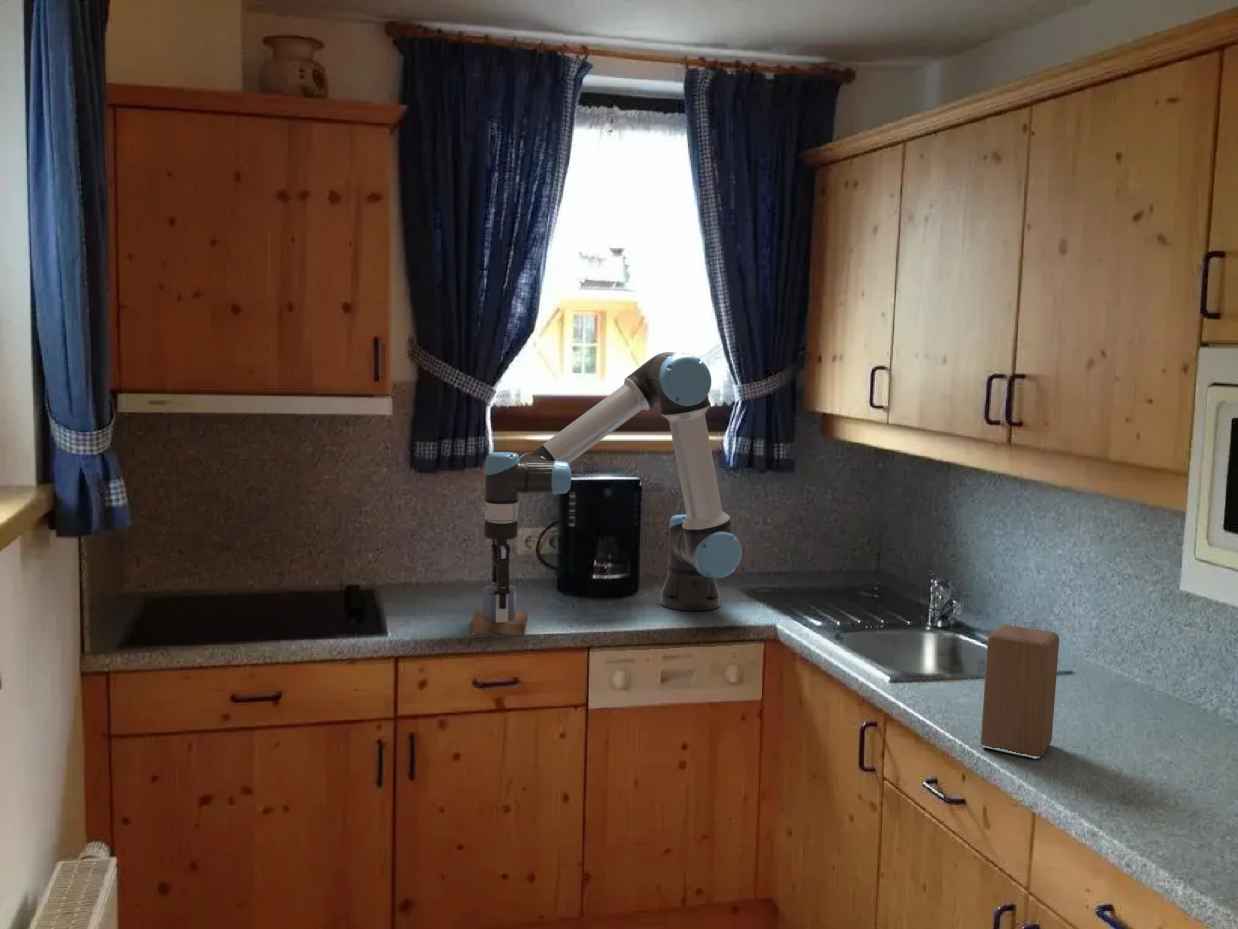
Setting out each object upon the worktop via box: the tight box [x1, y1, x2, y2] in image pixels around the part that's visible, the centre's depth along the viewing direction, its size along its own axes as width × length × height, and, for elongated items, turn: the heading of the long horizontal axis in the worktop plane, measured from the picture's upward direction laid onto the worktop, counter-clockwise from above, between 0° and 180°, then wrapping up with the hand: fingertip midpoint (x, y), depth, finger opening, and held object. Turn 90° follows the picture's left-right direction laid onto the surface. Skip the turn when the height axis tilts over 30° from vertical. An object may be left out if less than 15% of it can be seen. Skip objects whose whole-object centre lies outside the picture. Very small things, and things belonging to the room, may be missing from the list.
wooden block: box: [980, 624, 1060, 757], centre depth 195 cm, size 10×10×20 cm
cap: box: [482, 583, 517, 621], centre depth 262 cm, size 7×7×7 cm
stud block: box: [470, 609, 529, 636], centre depth 263 cm, size 12×12×8 cm
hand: (499, 616), depth 263 cm, fingers closed on stud block, 10 cm apart
